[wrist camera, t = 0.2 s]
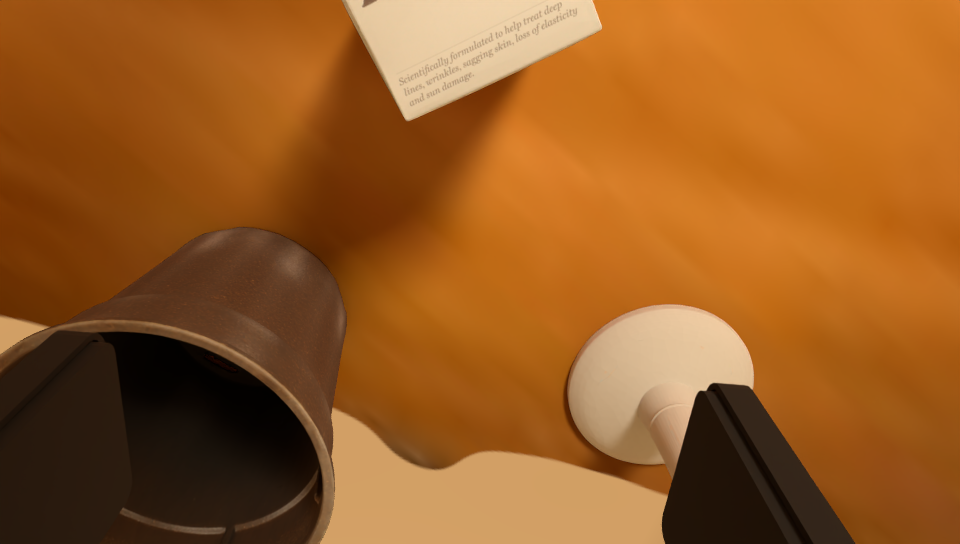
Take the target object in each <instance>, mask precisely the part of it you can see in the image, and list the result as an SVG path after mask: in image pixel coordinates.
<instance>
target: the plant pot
mask: <svg viewBox="0 0 960 544" xmlns="http://www.w3.org/2000/svg"><path fill="white" fill-rule="evenodd" d="M346 323H347V316H346V311H345V308H344V305H343V301H342V297H341V294H340V291H339V288H338V284H337V282H336V280H335V278H334V277H333V276H332V274H331V273H330V271H329V270H328V269H327V268H326V266H325V265H324V264H323V263H322V262H321V261H320V260H319V259H318V258H317V257H316V256H315V255H313V254H312V253H311V252H309V251H308V250H307V249H305V248H304V247H302V246H301V245H299V244H298V243H296V242H294V241H292V240H290V239H288V238H286V237H284V236H281V235H279V234H276V233H273V232H269V231H266V230H261V229H256V228H248V227H238V228H233V229H228V230H221V231H215V232H211V233H205V234H203V235H200V236H198V237H196V238H195V239H193V240H191V241H189V242H188V243H187V244H185V245H184V246H183V247H181V248H180V249H179V250H178V251H176V252H175V253H174V254H172V255H171V256H170V257H168V258H167V259H166V260H164V261H163V262H162V263H160V264H159V265H157V266H156V267H155V268H153V269H152V270H150V271H149V272H148V273H146V274H145V275H144V276H142V277H141V278H139V279H138V280H137V281H135V282H134V283H132V284H131V285H130V286H128V287H127V288H125V289H124V290H123V291H121V292H120V293H118V294H117V295H116V296H114V297H113V298H111V299H110V300H109V301H107V302H104V303H101V304H98V305H96V306H94V307H92V308H90V309H87V310H85V311H83V312H81V313H80V314H78V315H77V316H75V317H73V318H72V319H70V320H69V321H67V322H66V323H63V324H59V325H55V326H53V327H50V328H47V329H44V330H42V331H39V332H37V333H34V334H32V335H30V336H28V337H26V338H24V339H23V340H21V341H20V342H18V343H17V344H15V345H13V346H12V347H10V348H9V349H7V350H6V351H5V352H3V353H2V354H1V355H0V379H1V378H2V377H4V376H5V375H6V374H7V373H8V372H9V371H10V370H12V369H13V368H14V367H15V366H16V365H17V364H18V363H20V362H21V361H22V360H23V359H24V358H25V357H26V356H28V355H29V354H30V353H31V352H32V351H33V350H34V349H36V348H37V347H38V346H39V345H40V344H41V343H43V342H44V341H45V340H46V339H47V338H48V337H49V336H51V335H52V334H53V333H54V332H56V331H58V330H67V331H79V332H92V333H98V334H100V335H101V336H102V337H103V339H104V342H105V343H110V344H112V345H113V347H114V349H115V353H116V361H117V368H118V376H119V383H120V391H121V398H122V406H123V413H124V421H125V428H126V436H127V443H128V451H129V458H130V465H131V473H132V487H131V491H130V495H129V497H128V500H127V502H126V504H125V505H124V507H123V508H122V510H121V511H120V513H119V514H118V516H117V518H116V519H115V521H114V522H113V524H112V525H111V527H110V528H109V530H108V532H107V533H106V535H105V536H104V538H103V539H102V541H101V542H100V544H320V542H321V540H322V538H323V536H324V534H325V532H326V530H327V527H328V525H329V522H330V518H331V515H332V510H333V505H334V492H335V482H334V480H335V479H334V469H333V462H332V458H331V455H332V448H333V427H332V421H331V413H332V406H333V400H334V394H335V388H336V382H337V376H338V370H339V364H340V358H341V353H342V347H343V342H344V338H345V333H346ZM205 354H206V355H210V356H211V355H212V356H214V357H215V358H214V359H218V360H220V361H222V362H224V363H225V364H227V365H228V366H230V367H234V368H236V369H237V370H238V371H239V373H231V372H229V371H226V370H224V369H222V368H220V367H218V366H216V365H214V364H213V363H211V362H210V361H208V360H207V359H205V358H204V355H205Z"/></svg>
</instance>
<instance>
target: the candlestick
mask: <svg viewBox="0 0 960 544" xmlns="http://www.w3.org/2000/svg"><path fill="white" fill-rule="evenodd" d="M712 383H724V384H737V385H746V386H749V387H750V388H751V389H752V390H753V384H754V372H753V365H752V361H751V357H750V355H749V352H748V350H747V348H746V346H745V344H744V343H743V341H742V340H741V338H740V337H739V336H738V334H737V333H736V332H735V331H734V330H733V329H732V328H731V327H730V326H729V325H728V324H727V323H726V322H724V321H723V320H722V319H720V318H718V317H717V316H715V315H713V314H711V313H709V312H707V311H704V310H701V309H698V308H694V307H690V306H684V305H655V306H649V307H644V308H640V309H637V310H634V311H631V312H628V313H626V314H624V315H621V316H619V317H617V318H616V319H614V320H612V321H610V322H609V323H607V324H606V325H605V326H603V327H602V328H601V329H599V330H598V331H597V332H596V333H595V334H594V335H593V336H592V337H591V338H590V339H589V340H588V341H587V342H586V343H585V345H584V346H583V347H582V349H581V350H580V352H579V353H578V355H577V357H576V359H575V360H574V363H573V365H572V368H571V371H570V374H569V379H568V387H567V394H568V403H569V407H570V411H571V415H572V418H573V420H574V422H575V424H576V426H577V428H578V429H579V431H580V432H581V433H582V435H583V436H584V437H585V438H586V439H587V441H589V442H590V443H591V444H592V445H593V446H594V447H596V448H597V449H598V450H600V451H602V452H603V453H605V454H607V455H609V456H611V457H614V458H616V459H619V460H622V461H626V462H630V463H636V464H665V465H666V467H667V469H668V471H669V473H670V475H671V477H672V479H673V476H674V473H675V469H676V465H677V462H678V458H679V454H680V451H681V447H682V444H683V440H684V436H685V433H686V429H687V426H688V422H689V418H690V415H691V411H692V407H693V404H694V400H695V397H696V395H697V393H698V392H699V391H701V390H702V391H706V390H707V388H708V387H709V385H710V384H712Z"/></svg>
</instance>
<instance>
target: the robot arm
mask: <svg viewBox="0 0 960 544" xmlns="http://www.w3.org/2000/svg"><path fill="white" fill-rule="evenodd" d="M131 487H132V473H131V465H130V458H129V451H128V443H127V436H126V428H125V421H124V413H123V406H122V398H121V391H120V383H119V376H118V368H117V361H116V353H115V349H114V347H113V345H112V344H110V343H105V342H104V339H103V337H102V336H101V335H100V334H98V333H92V332H79V331H67V330H58V331H56V332H54V333H53V334H52V335H51V336H49V337H48V338H47V339H46V340H45V341H44V342H43V343H41V344H40V345H39V346H38V347H37V348H36V349H34V350H33V351H32V352H31V353H30V354H29V355H28V356H26V357H25V358H24V359H23V360H22V361H21V362H20V363H18V364H17V365H16V366H15V367H14V368H13V369H12V370H10V371H9V372H8V373H7V374H6V375H5V376H4V377H2V378H1V379H0V544H100V542H101V541H102V539H103V538H104V536H105V535H106V533H107V532H108V530H109V528H110V527H111V525H112V524H113V522H114V521H115V519H116V518H117V516H118V514H119V513H120V511H121V510H122V508H123V507H124V505H125V504H126V502H127V500H128V497H129V495H130V491H131ZM662 532H663V538H664V541H665V544H855V542H854V541H853V539H852V538H851V536H850V535H849V533H848V532H847V530H846V529H845V527H844V526H843V524H842V523H841V521H840V520H839V518H838V517H837V515H836V514H835V512H834V511H833V509H832V508H831V506H830V505H829V503H828V502H827V500H826V499H825V497H824V496H823V494H822V493H821V492H820V490H819V489H818V487H817V486H816V484H815V483H814V481H813V480H812V478H811V477H810V475H809V474H808V472H807V471H806V469H805V468H804V466H803V465H802V463H801V462H800V460H799V459H798V457H797V456H796V454H795V453H794V451H793V450H792V448H791V447H790V445H789V444H788V442H787V441H786V439H785V438H784V436H783V435H782V434H781V432H780V431H779V429H778V428H777V426H776V425H775V423H774V422H773V420H772V419H771V417H770V416H769V414H768V413H767V411H766V410H765V408H764V407H763V405H762V404H761V402H760V401H759V399H758V398H757V396H756V395H755V393H754V392H753V390H752V389H751V388H750V387H749V386H746V385H737V384H724V383H712V384H710V385H709V387H708V388H707V390H706V391H702V390H701V391H699V392H698V393H697V395H696V397H695V400H694V404H693V407H692V411H691V415H690V418H689V422H688V426H687V429H686V433H685V436H684V440H683V444H682V447H681V451H680V454H679V458H678V462H677V465H676V469H675V473H674V476H673V480H672V483H671V487H670V491H669V494H668V498H667V502H666V505H665V509H664V512H663V517H662Z"/></svg>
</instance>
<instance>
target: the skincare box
mask: <svg viewBox="0 0 960 544" xmlns="http://www.w3.org/2000/svg"><path fill="white" fill-rule="evenodd" d="M342 2H343V4H344V6H345V8H346V10H347V12H348V14H349V16H350V18H351V20H352V22H353V24H354V26H355V28H356V30H357V31H358V33H359V35H360V37H361V39H362V41H363V43H364V45H365V47H366V48H367V50H368V52H369V54H370V56H371V58H372V60H373V61H374V63H375V65H376V67H377V69H378V71H379V73H380V74H381V76H382V78H383V80H384V82H385V84H386V86H387V87H388V89H389V91H390V93H391V95H392V97H393V99H394V100H395V102H396V104H397V106H398V108H399V109H400V111H401V113H402V115H403V117H404V119H405V120H406V121H411V120H413V119H415V118H418V117H420V116H422V115H424V114H427V113H429V112H431V111H434V110H436V109H438V108H440V107H443V106H445V105H447V104H449V103H451V102H454V101H456V100H458V99H460V98H463V97H465V96H467V95H469V94H471V93H474V92H476V91H478V90H480V89H482V88H484V87H486V86H488V85H491V84H493V83H495V82H497V81H499V80H501V79H503V78H505V77H508V76H510V75H512V74H514V73H516V72H518V71H520V70H522V69H524V68H526V67H528V66H530V65H532V64H534V63H536V62H538V61H541V60H543V59H545V58H547V57H549V56H551V55H553V54H555V53H558V52H560V51H562V50H564V49H566V48H568V47H570V46H572V45H574V44H576V43H578V42H580V41H582V40H584V39H586V38H588V37H589V36H591V35H593V34H595V33H597V32H599V31H600V30H601V29H602V25H601V23H600V20H599V18H598V15H597V12H596V9H595V7H594V4H593V1H592V0H342Z"/></svg>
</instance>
